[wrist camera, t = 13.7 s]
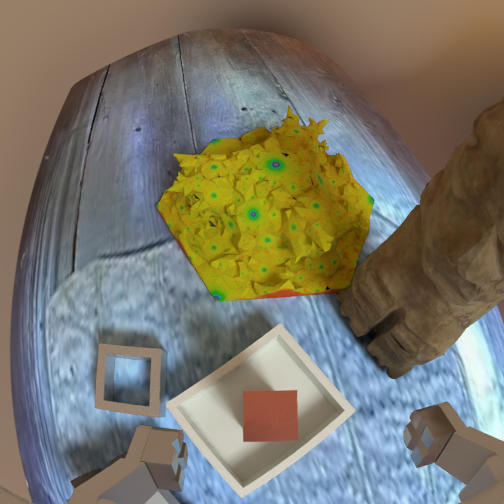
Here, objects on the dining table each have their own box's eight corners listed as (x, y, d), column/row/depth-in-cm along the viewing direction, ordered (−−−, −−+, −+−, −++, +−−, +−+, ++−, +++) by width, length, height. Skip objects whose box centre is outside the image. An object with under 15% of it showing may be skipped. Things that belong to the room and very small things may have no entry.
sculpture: (320, 307, 34) (473, 44, 7) (371, 262, 36) (506, 47, 10) (388, 386, 29) (650, 267, 3) (433, 333, 32) (629, 184, 6)
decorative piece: (282, 81, 43) (434, 208, 32) (278, 118, 50) (407, 241, 39) (125, 139, 35) (258, 343, 24) (138, 178, 42) (254, 357, 31)
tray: (241, 488, 24) (241, 498, 21) (172, 404, 28) (164, 403, 25) (344, 410, 28) (355, 410, 25) (276, 331, 32) (280, 322, 29)
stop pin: (278, 428, 26) (297, 440, 17) (242, 428, 26) (243, 441, 17) (277, 395, 28) (297, 389, 18) (242, 395, 28) (243, 390, 18)
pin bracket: (165, 416, 27) (159, 417, 25) (104, 408, 27) (94, 407, 25) (167, 353, 30) (161, 348, 28) (108, 348, 30) (99, 343, 28)
